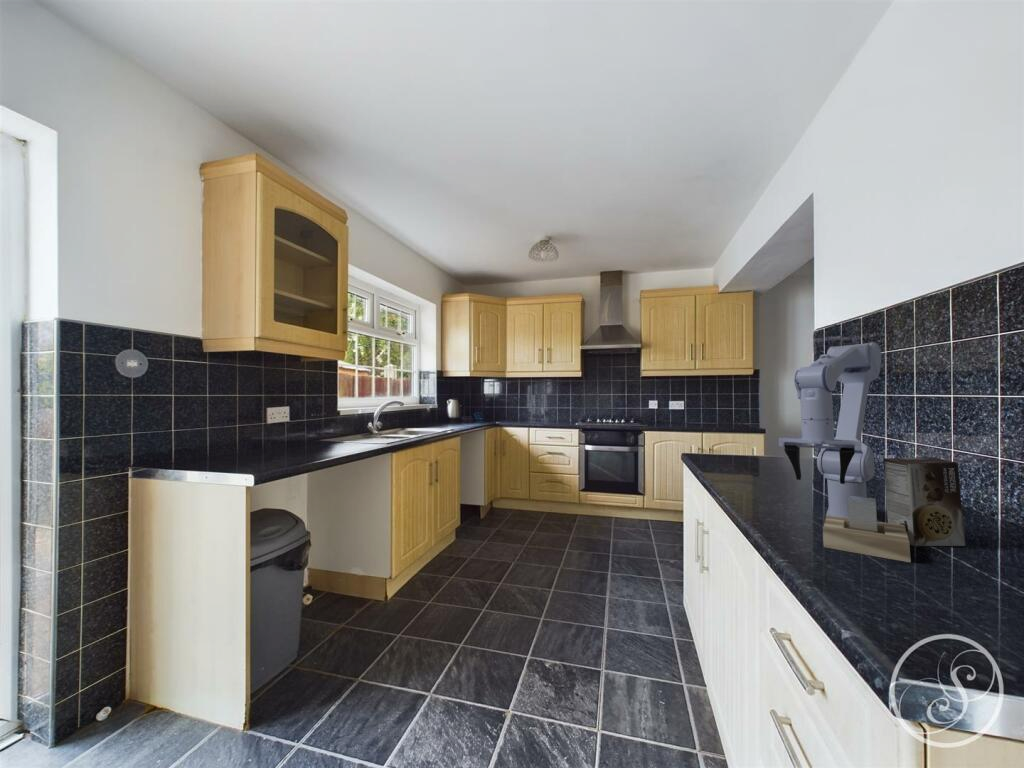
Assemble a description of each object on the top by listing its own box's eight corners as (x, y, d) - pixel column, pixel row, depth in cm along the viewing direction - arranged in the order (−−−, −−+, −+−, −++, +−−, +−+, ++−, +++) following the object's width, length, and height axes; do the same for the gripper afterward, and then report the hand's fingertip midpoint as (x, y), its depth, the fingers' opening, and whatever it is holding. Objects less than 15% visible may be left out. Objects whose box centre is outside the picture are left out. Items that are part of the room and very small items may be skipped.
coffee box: (934, 535, 83) (929, 457, 83) (966, 547, 76) (960, 461, 77) (886, 535, 84) (881, 457, 84) (914, 546, 77) (908, 462, 78)
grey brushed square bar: (850, 546, 78) (847, 499, 78) (851, 540, 81) (849, 495, 81) (878, 551, 75) (875, 502, 76) (878, 545, 78) (875, 498, 79)
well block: (827, 531, 87) (826, 514, 87) (905, 543, 79) (904, 525, 79) (823, 547, 78) (822, 528, 78) (910, 562, 70) (909, 542, 70)
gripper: (775, 419, 92) (778, 480, 91) (859, 420, 82) (863, 488, 81) (780, 418, 97) (782, 475, 96) (859, 419, 87) (863, 482, 87)
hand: (820, 481), depth 89 cm, fingers open, 7 cm apart
